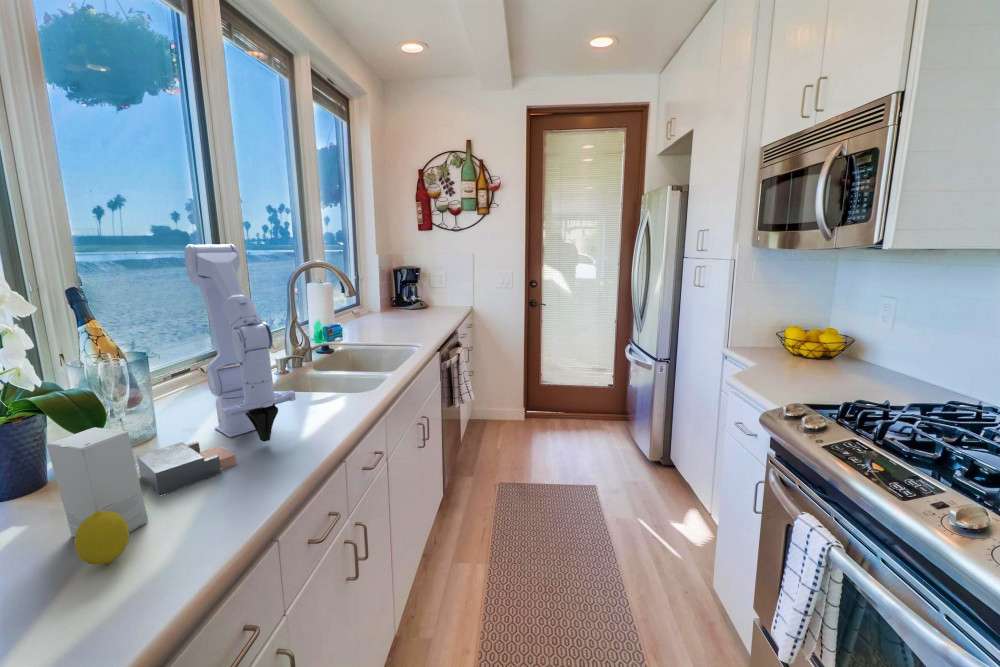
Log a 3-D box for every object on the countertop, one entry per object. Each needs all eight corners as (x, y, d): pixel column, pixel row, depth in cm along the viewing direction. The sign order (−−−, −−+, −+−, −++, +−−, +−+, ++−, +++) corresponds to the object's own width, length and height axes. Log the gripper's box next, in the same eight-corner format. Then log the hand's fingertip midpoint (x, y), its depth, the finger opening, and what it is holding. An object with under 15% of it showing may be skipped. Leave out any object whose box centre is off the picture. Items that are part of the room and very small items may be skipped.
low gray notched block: (140, 476, 87) (136, 455, 86) (199, 457, 94) (196, 437, 93) (159, 496, 80) (155, 473, 79) (221, 473, 87) (218, 452, 86)
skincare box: (149, 522, 72) (132, 431, 69) (102, 548, 66) (81, 449, 63) (114, 513, 75) (96, 424, 72) (65, 537, 69) (44, 441, 66)
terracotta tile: (153, 480, 86) (151, 468, 86) (221, 456, 96) (219, 446, 95) (166, 491, 82) (164, 479, 82) (236, 465, 92) (234, 454, 91)
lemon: (103, 580, 59) (91, 526, 58) (70, 575, 60) (57, 521, 59) (143, 553, 65) (134, 502, 63) (112, 548, 66) (102, 498, 64)
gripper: (228, 392, 88) (237, 457, 91) (299, 375, 99) (305, 433, 102) (214, 386, 93) (223, 447, 95) (284, 370, 104) (290, 425, 106)
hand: (265, 439), depth 99 cm, fingers closed
